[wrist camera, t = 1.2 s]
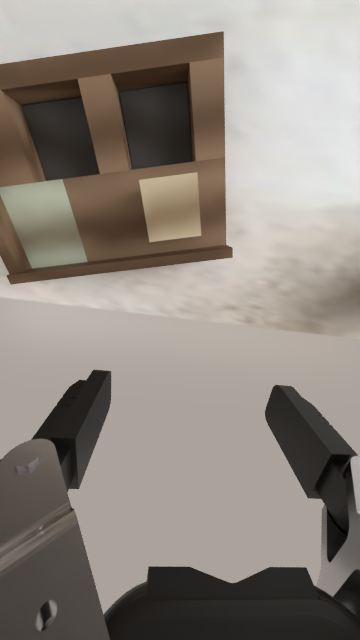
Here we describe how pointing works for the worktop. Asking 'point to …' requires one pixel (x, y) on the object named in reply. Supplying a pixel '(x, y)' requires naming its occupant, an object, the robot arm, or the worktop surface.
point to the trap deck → (109, 156)
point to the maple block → (171, 206)
